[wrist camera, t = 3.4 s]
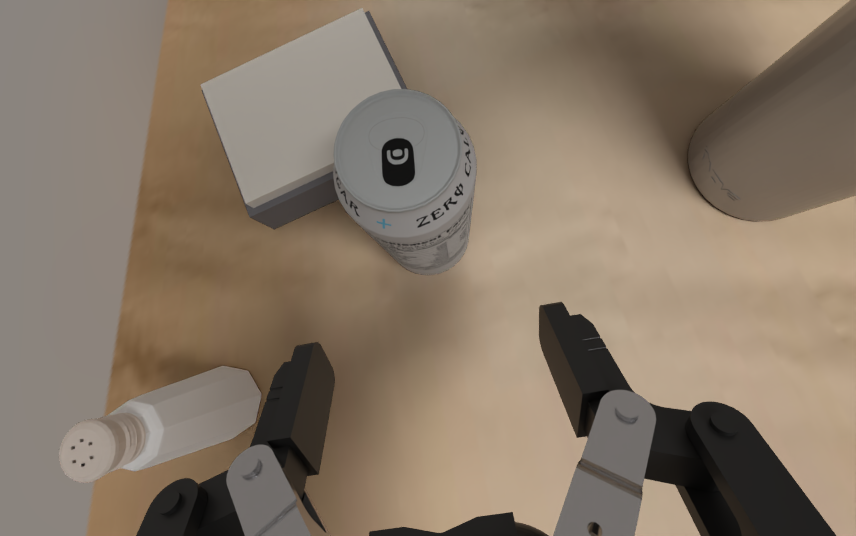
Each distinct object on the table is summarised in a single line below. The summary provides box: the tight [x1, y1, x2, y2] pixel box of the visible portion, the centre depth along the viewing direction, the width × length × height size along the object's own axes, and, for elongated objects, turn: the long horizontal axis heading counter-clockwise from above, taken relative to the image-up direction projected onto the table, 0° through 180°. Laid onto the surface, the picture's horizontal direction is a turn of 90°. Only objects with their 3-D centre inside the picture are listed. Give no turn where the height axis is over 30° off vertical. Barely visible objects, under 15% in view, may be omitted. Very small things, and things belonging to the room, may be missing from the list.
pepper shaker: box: [59, 366, 262, 483], centre depth 22 cm, size 5×5×11 cm
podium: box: [200, 8, 407, 229], centre depth 28 cm, size 14×11×4 cm
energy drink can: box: [333, 89, 476, 275], centre depth 21 cm, size 6×6×15 cm
